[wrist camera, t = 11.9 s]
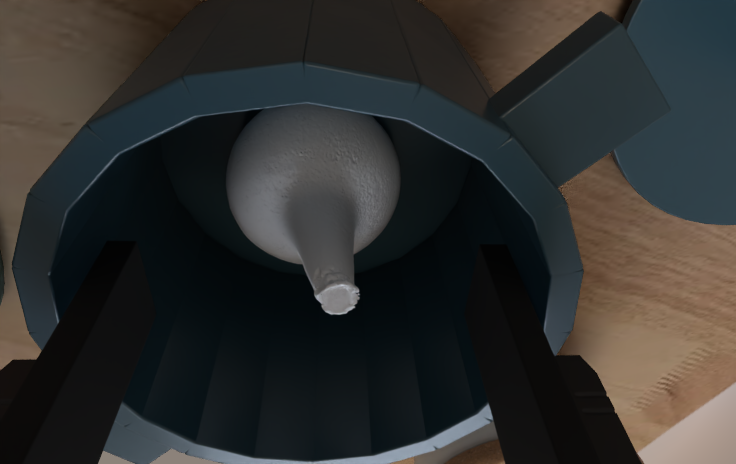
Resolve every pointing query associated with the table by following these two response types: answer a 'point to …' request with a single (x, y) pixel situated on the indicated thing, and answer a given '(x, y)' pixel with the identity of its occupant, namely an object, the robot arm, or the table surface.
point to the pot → (371, 265)
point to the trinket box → (469, 449)
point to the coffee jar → (1, 278)
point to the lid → (686, 109)
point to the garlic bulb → (314, 191)
